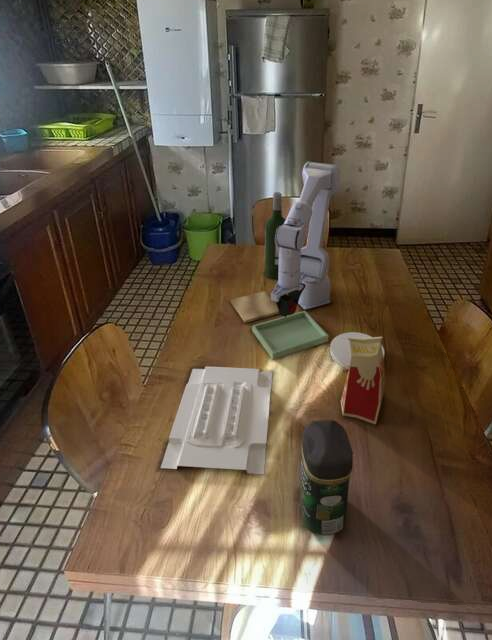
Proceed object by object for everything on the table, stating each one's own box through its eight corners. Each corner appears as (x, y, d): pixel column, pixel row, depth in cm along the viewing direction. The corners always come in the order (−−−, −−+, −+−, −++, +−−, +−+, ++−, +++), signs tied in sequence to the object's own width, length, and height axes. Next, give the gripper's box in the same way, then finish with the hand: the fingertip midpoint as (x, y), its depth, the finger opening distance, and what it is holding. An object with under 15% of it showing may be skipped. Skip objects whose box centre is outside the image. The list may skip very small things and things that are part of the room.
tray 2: (304, 316, 131) (305, 310, 130) (328, 341, 121) (328, 335, 120) (252, 331, 124) (252, 325, 123) (272, 359, 114) (272, 353, 113)
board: (264, 293, 142) (264, 290, 142) (281, 312, 132) (281, 310, 132) (230, 302, 137) (230, 299, 137) (245, 323, 128) (245, 320, 127)
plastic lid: (384, 344, 120) (385, 337, 119) (381, 379, 108) (383, 372, 106) (333, 335, 123) (334, 328, 122) (325, 368, 111) (326, 361, 110)
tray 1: (160, 468, 85) (158, 455, 83) (192, 371, 111) (191, 360, 109) (264, 474, 84) (264, 460, 83) (272, 375, 110) (272, 363, 108)
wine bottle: (282, 281, 149) (284, 199, 136) (261, 276, 152) (261, 195, 139) (290, 270, 156) (292, 191, 143) (269, 266, 158) (270, 188, 145)
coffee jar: (295, 486, 82) (298, 415, 74) (336, 482, 83) (344, 411, 75) (304, 540, 73) (309, 466, 65) (349, 535, 74) (360, 461, 66)
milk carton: (382, 395, 103) (393, 326, 94) (377, 425, 95) (389, 353, 86) (344, 385, 106) (351, 318, 97) (336, 414, 98) (343, 343, 89)
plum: (291, 307, 123) (292, 293, 121) (299, 316, 119) (300, 302, 117) (277, 311, 121) (277, 297, 119) (284, 320, 118) (285, 306, 116)
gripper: (287, 284, 106) (286, 329, 112) (316, 261, 117) (313, 303, 123) (264, 276, 110) (264, 320, 116) (293, 254, 121) (292, 295, 127)
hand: (288, 311), depth 120 cm, fingers closed on plum, 4 cm apart
